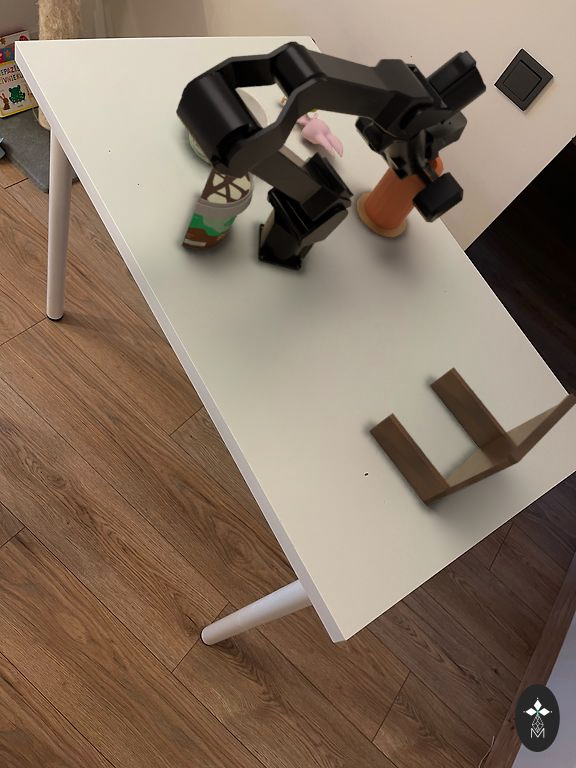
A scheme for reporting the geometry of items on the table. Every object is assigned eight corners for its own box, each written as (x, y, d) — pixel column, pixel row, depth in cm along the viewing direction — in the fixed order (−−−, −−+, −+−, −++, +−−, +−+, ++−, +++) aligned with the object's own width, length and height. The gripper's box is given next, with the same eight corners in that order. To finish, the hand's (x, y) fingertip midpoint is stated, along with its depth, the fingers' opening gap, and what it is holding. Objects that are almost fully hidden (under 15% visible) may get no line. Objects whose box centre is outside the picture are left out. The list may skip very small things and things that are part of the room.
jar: (401, 234, 97) (444, 182, 87) (364, 221, 95) (404, 166, 85) (399, 204, 100) (442, 151, 91) (364, 191, 98) (403, 134, 88)
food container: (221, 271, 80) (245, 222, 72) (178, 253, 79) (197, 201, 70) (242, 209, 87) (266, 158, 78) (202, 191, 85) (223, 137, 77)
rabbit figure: (269, 112, 101) (320, 168, 96) (279, 79, 96) (333, 135, 91) (298, 110, 104) (348, 163, 99) (309, 77, 100) (362, 131, 94)
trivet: (358, 228, 94) (360, 226, 94) (355, 187, 99) (356, 185, 98) (406, 243, 98) (408, 241, 97) (401, 202, 102) (403, 200, 101)
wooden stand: (369, 430, 78) (445, 372, 64) (432, 382, 86) (513, 322, 72) (426, 505, 76) (518, 463, 62) (486, 449, 84) (578, 400, 71)
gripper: (501, 149, 74) (492, 193, 89) (414, 43, 78) (420, 102, 93) (426, 205, 77) (430, 239, 92) (345, 99, 80) (361, 148, 95)
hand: (411, 180), depth 93 cm, fingers open, 9 cm apart
